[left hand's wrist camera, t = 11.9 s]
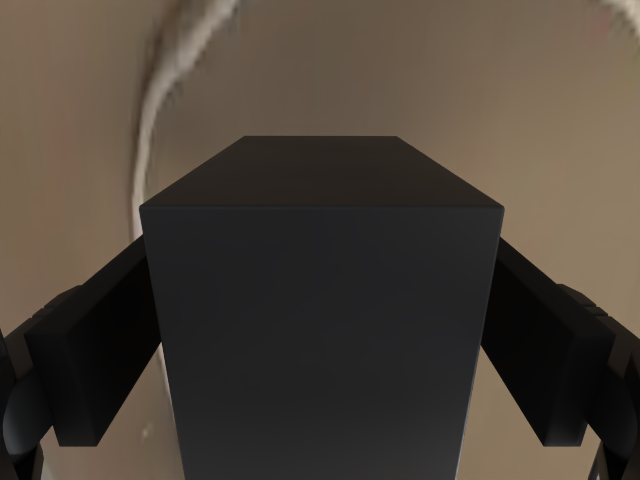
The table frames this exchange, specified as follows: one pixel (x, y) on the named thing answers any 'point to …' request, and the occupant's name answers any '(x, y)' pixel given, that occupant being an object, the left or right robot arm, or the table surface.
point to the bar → (321, 308)
